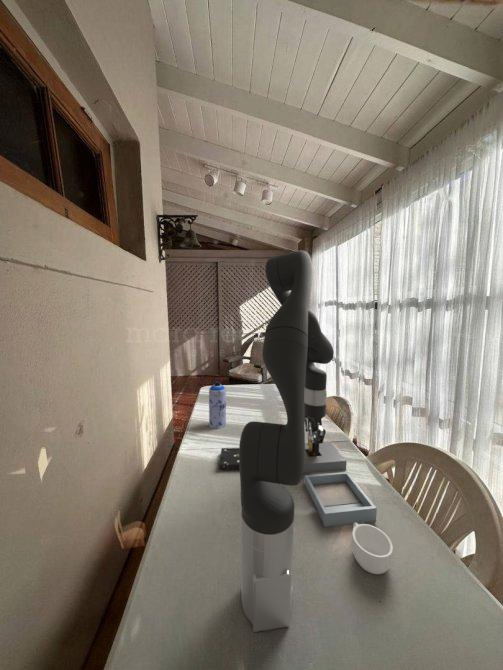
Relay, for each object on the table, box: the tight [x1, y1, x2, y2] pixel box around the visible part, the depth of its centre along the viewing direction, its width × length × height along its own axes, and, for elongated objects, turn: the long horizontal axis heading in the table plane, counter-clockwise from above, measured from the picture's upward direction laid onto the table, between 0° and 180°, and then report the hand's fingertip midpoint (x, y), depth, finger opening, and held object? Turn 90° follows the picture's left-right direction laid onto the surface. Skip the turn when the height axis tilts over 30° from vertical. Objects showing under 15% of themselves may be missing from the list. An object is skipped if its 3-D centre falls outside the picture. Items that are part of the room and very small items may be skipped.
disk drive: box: [218, 447, 240, 472], centre depth 90 cm, size 10×3×15 cm
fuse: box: [308, 434, 318, 457], centre depth 89 cm, size 3×3×9 cm
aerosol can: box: [208, 380, 227, 430], centre depth 117 cm, size 8×8×20 cm
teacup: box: [351, 523, 394, 575], centre depth 56 cm, size 10×8×5 cm
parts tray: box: [303, 471, 378, 528], centre depth 72 cm, size 15×14×4 cm
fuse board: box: [303, 441, 348, 474], centre depth 89 cm, size 12×18×4 cm, turn 98°
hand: (313, 449), depth 89 cm, fingers closed on fuse, 3 cm apart
